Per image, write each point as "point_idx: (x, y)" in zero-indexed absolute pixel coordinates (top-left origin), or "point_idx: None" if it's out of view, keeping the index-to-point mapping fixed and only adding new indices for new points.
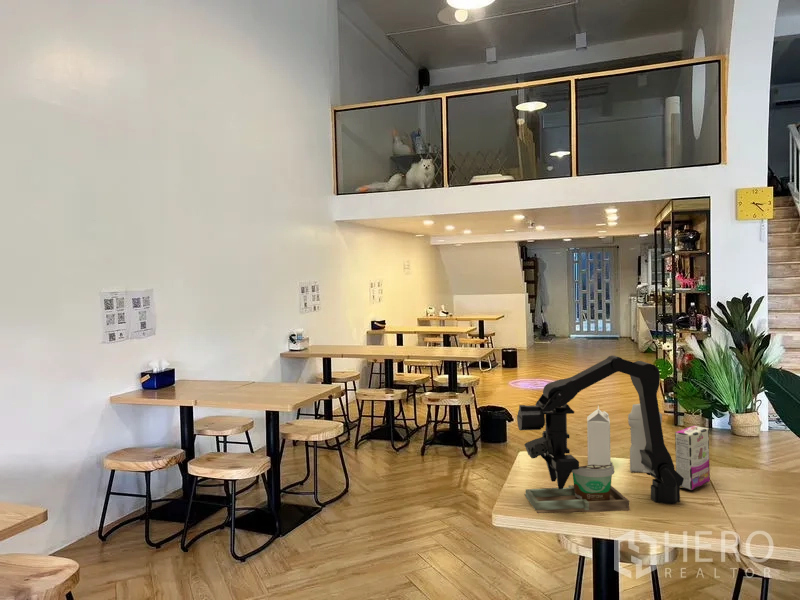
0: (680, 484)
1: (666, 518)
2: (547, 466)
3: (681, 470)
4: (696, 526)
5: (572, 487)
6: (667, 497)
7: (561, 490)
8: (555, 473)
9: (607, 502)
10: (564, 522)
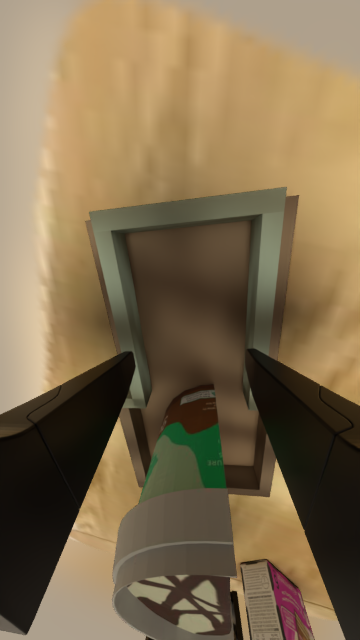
0: None
1: (109, 490)
2: (341, 397)
3: (268, 626)
4: (83, 507)
5: None
6: None
7: None
8: (260, 401)
9: (129, 446)
10: (43, 302)
